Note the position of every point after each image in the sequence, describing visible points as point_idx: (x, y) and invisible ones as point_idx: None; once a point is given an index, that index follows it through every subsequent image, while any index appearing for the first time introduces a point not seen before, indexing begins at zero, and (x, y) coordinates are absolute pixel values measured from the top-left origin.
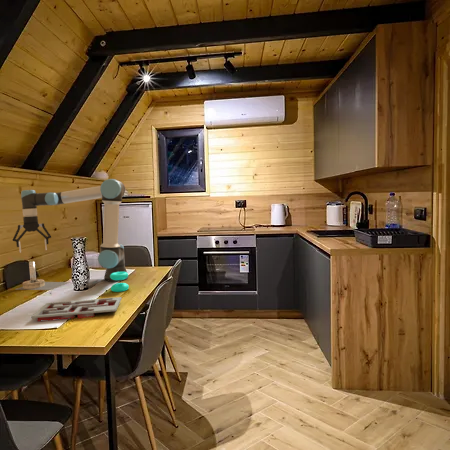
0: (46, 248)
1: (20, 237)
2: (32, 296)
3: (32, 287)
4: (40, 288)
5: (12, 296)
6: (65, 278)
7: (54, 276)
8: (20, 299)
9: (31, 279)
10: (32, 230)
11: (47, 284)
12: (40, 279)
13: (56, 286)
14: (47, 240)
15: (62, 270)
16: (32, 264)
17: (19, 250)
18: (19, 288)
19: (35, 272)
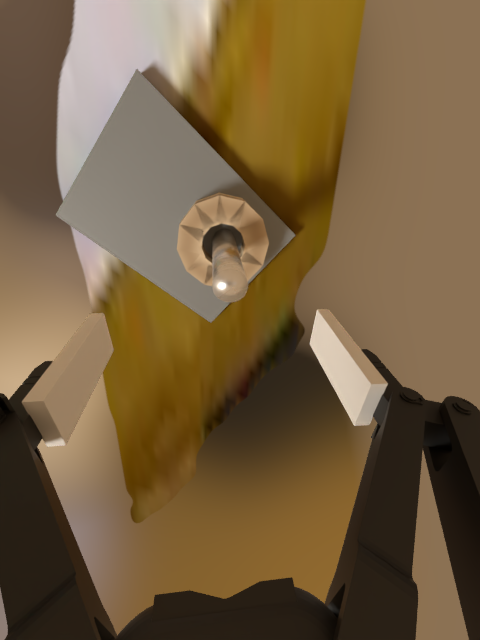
0: (87, 321)
1: (397, 440)
2: (233, 45)
3: (229, 195)
4: (195, 166)
5: (313, 139)
6: None
7: (155, 401)
8: (292, 11)
9: (232, 240)
10: (205, 629)
11: (167, 240)
12: (194, 275)
13: (117, 154)
14: (20, 399)
15: (137, 463)
16: (226, 263)
17: (336, 320)
18: (278, 240)
19: (212, 259)
